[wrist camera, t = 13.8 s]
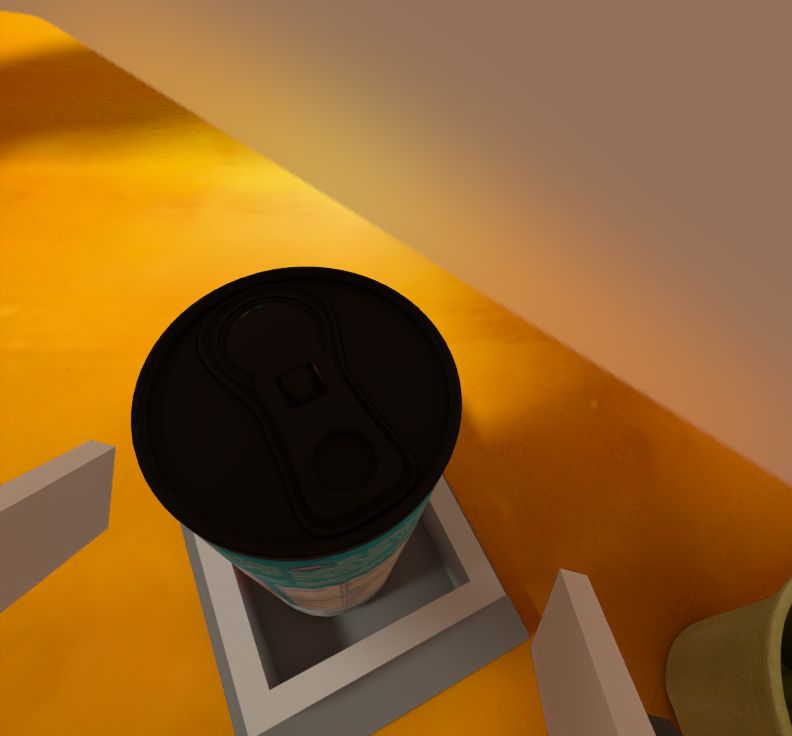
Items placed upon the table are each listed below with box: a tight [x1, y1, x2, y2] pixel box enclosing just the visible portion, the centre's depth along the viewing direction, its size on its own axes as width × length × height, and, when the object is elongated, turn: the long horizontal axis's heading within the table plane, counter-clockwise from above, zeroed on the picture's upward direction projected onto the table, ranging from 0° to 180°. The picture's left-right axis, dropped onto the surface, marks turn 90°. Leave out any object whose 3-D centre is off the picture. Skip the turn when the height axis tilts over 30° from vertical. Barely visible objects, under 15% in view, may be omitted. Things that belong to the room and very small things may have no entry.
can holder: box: [180, 474, 531, 736], centre depth 22 cm, size 18×12×4 cm, turn 26°
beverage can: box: [131, 267, 462, 617], centre depth 15 cm, size 6×6×15 cm
